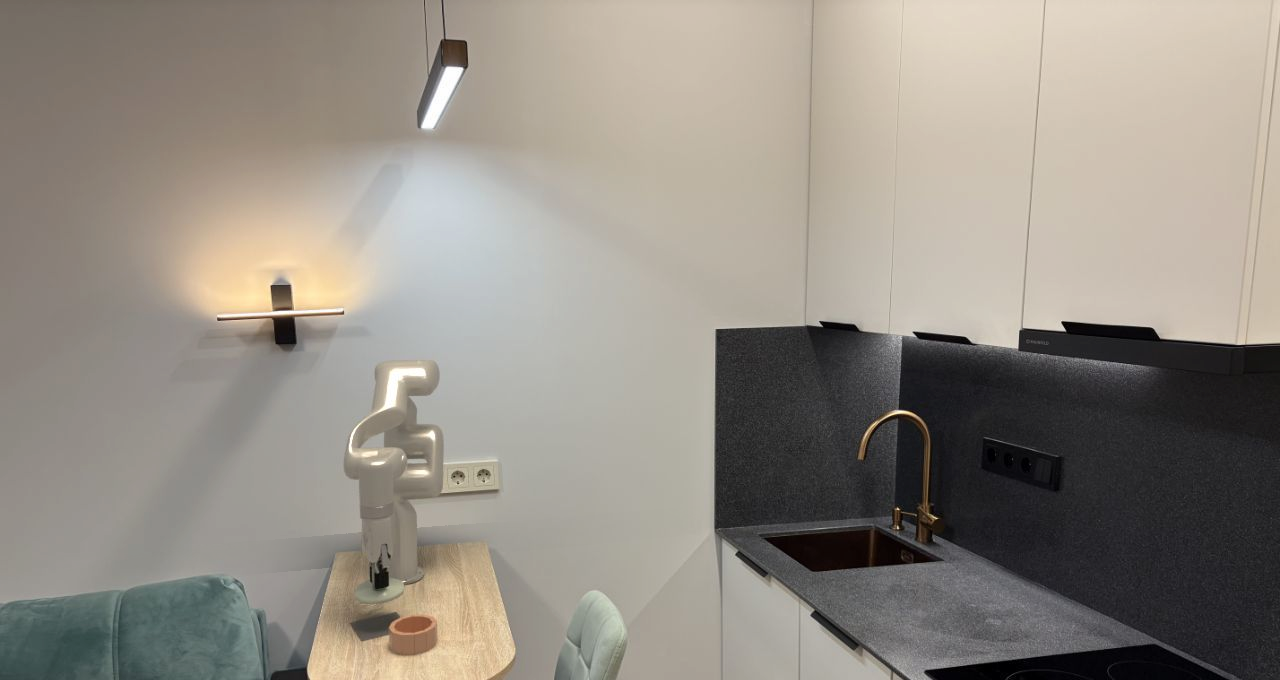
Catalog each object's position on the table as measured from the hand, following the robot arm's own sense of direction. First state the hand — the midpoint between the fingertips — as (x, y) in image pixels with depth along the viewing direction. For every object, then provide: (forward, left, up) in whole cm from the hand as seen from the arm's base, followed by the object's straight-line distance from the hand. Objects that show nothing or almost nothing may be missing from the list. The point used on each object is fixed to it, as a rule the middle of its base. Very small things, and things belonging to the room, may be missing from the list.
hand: (379, 583), depth 182 cm
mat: (+1, 0, -10) cm, 10 cm away
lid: (0, 0, -2) cm, 2 cm away
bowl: (+14, +4, -10) cm, 18 cm away
